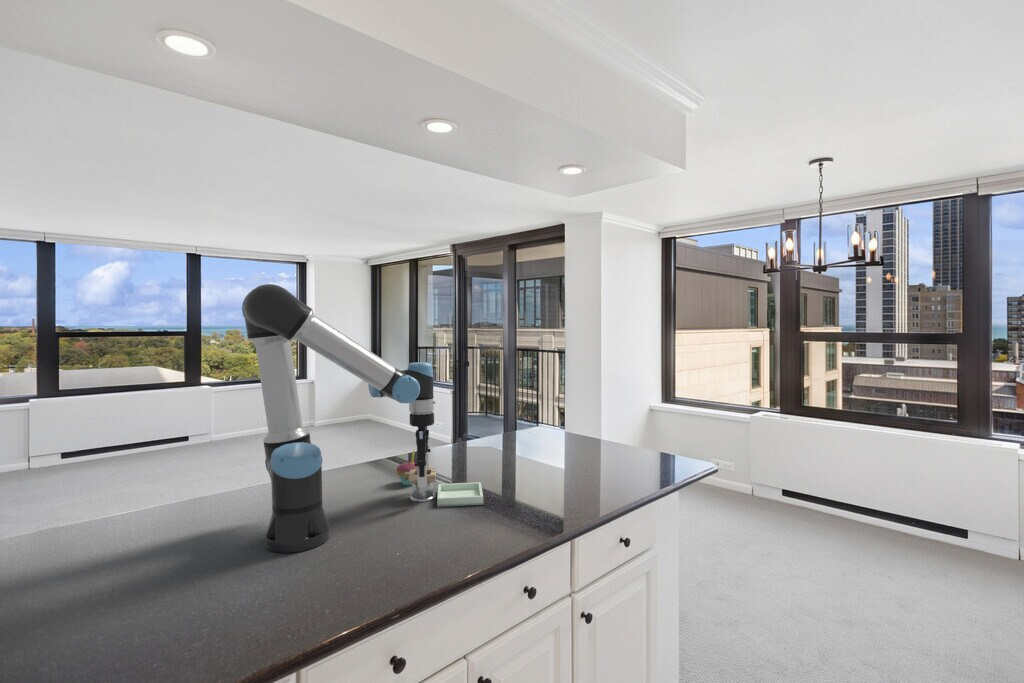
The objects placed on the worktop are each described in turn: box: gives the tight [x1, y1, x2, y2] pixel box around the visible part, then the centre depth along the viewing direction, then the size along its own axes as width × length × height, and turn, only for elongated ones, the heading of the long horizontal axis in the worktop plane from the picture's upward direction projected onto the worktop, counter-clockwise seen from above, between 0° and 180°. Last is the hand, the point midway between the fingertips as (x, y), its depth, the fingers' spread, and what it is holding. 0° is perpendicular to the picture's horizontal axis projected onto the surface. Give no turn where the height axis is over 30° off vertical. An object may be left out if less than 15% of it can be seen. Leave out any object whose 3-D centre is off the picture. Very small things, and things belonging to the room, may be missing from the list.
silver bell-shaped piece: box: [409, 482, 437, 503], centre depth 157 cm, size 8×8×13 cm
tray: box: [436, 481, 484, 508], centre depth 157 cm, size 14×14×2 cm
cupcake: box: [395, 450, 417, 486], centre depth 172 cm, size 9×8×12 cm
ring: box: [404, 467, 437, 483], centre depth 157 cm, size 8×10×2 cm
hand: (423, 479), depth 158 cm, fingers open, 13 cm apart
